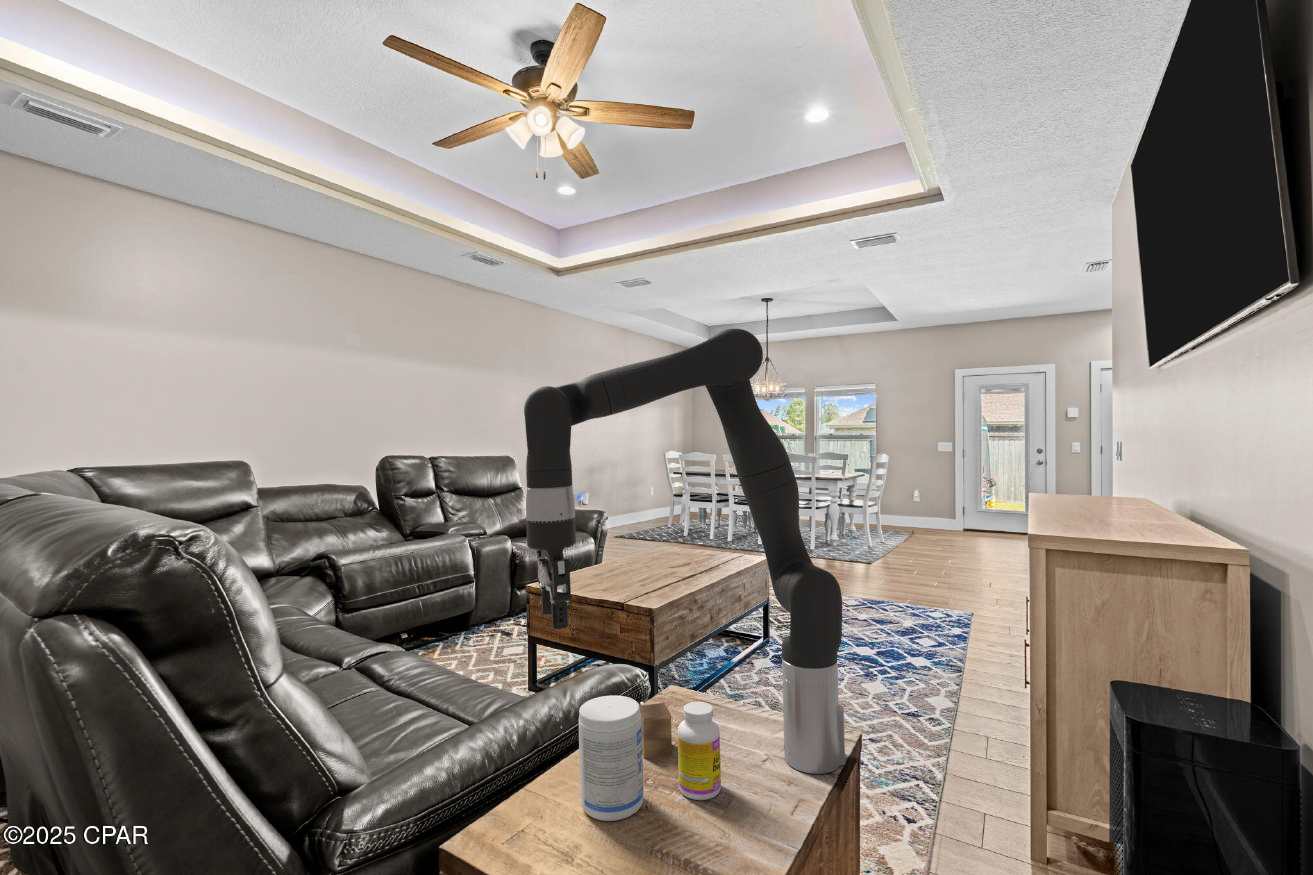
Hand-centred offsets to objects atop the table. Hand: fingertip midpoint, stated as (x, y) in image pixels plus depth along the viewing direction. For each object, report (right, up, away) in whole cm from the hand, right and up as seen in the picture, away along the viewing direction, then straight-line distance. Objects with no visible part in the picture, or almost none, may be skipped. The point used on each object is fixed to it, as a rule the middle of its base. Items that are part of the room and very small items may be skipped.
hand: (554, 620), depth 92 cm
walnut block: (+16, -28, +14) cm, 35 cm away
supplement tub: (+9, -28, -2) cm, 29 cm away
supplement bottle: (+23, -27, +1) cm, 36 cm away
